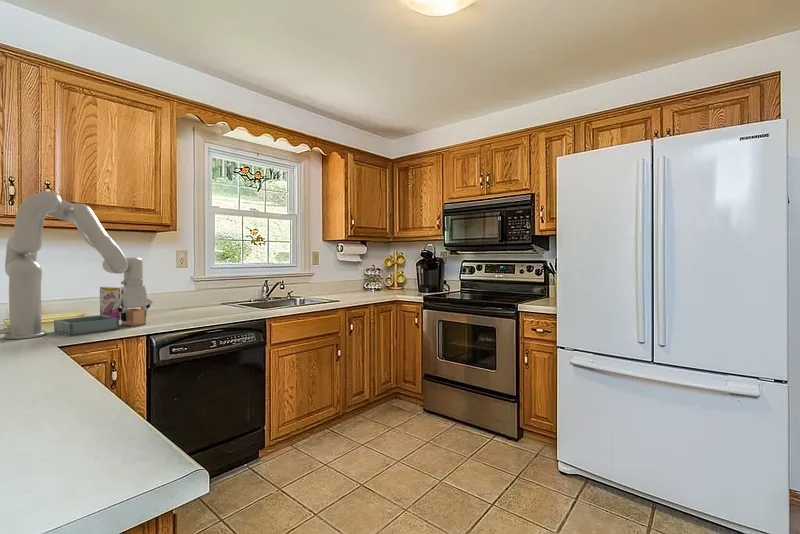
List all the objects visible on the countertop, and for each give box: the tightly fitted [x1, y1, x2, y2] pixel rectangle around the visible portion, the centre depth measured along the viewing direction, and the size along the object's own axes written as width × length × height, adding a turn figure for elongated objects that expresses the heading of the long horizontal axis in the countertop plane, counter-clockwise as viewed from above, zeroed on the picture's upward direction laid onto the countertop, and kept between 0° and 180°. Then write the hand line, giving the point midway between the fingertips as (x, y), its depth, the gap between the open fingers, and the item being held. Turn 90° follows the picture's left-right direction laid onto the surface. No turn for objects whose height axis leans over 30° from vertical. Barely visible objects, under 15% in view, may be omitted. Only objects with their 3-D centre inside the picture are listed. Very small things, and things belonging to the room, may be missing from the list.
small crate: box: [121, 307, 147, 327], centre depth 195 cm, size 6×10×7 cm, turn 58°
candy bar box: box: [99, 285, 123, 321], centre depth 209 cm, size 11×5×16 cm, turn 84°
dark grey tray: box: [53, 314, 120, 337], centre depth 178 cm, size 18×16×5 cm
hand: (133, 319), depth 195 cm, fingers open, 8 cm apart
